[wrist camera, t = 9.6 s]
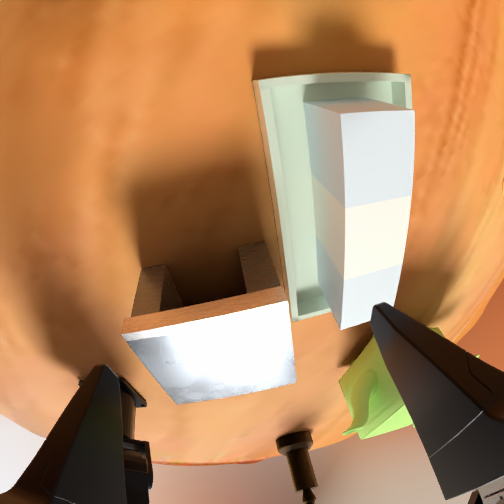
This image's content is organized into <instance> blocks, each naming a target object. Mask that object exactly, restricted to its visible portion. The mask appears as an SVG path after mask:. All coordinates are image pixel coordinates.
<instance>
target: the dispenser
mask: <svg viewBox="0 0 504 504" xmlns="http://www.w3.org/2000/svg"><path fill="white" fill-rule="evenodd" d="M238 251H239V256H240V261H241V266H242V271H243V276H244V281H245V285H246V290H247V294H243V295H239V296H234V297H230V298H225V299H221V300H216V301H211V302H207V303H202V304H197V305H192V306H187V307H184V305H183V303H182V300H181V298H180V296H179V294H178V291H177V289H176V287H175V285H174V282H173V280H172V278H171V275H170V273H169V271H168V268H167V266H166V264H162V265H158V266H154V267H149V268H145V269H141V273H140V277H139V282H138V286H137V290H136V295H135V299H134V304H133V309H132V313H131V317H130V318H125V319H124V324H123V329H122V334H121V335H122V336H123V337H124V339H125V340H126V342H127V343H128V344H129V346H130V347H131V348H132V350H133V351H134V352H135V354H136V355H137V356H138V358H139V359H140V360H141V362H142V363H143V364H144V366H145V367H146V368H147V369H148V371H149V372H150V373H151V374H152V376H153V377H154V378H155V379H156V381H157V382H158V383H159V384H160V385H161V387H162V388H163V389H164V390H165V391H166V392H167V394H168V395H169V396H170V397H171V398H172V399H173V401H174V402H175V403H176V404H184V403H192V402H199V401H206V400H213V399H219V398H225V397H231V396H237V395H242V394H247V393H252V392H257V391H262V390H266V389H271V388H275V387H280V386H284V385H288V384H292V383H296V372H295V362H294V353H293V344H292V335H291V326H290V317H289V309H288V301H287V298H286V295H285V292H284V289H283V287H282V286H280V283H279V280H278V277H277V274H276V271H275V269H274V266H273V263H272V260H271V257H270V254H269V251H268V249H267V246H266V243H265V241H263V242H258V243H254V244H250V245H245V246H241V247H238Z"/></svg>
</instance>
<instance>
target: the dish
mask: <svg viewBox="0 0 504 504" xmlns="http://www.w3.org/2000/svg"><path fill="white" fill-rule="evenodd" d="M252 83H253V89H254V94H255V100H256V105H257V111H258V117H259V123H260V128H261V134H262V140H263V146H264V153H265V159H266V165H267V171H268V177H269V184H270V190H271V197H272V204H273V210H274V217H275V224H276V231H277V238H278V245H279V252H280V259H281V267H282V274H283V282H284V289H285V295H286V298H287V301H288V309H289V314H290V316H291V319H292V322H294V321H298V320H302V319H306V318H310V317H314V316H317V315H321V314H325V313H328V312H332V311H331V309H330V307H329V305H328V303H327V301H326V299H325V297H324V295H323V293H322V290H321V288H320V286H319V284H318V275H317V251H316V232H315V216H314V202H313V190H312V178H311V167H310V157H309V148H308V139H307V130H306V122H305V114H304V106H303V102H308V101H318V100H329V99H342V98H361V97H365V98H369V99H374V100H378V101H382V102H386V103H390V104H394V105H397V106H401V107H405V108H408V109H411V110H412V92H411V76H410V74H401V73H391V72H328V73H311V74H299V75H289V76H280V77H272V78H264V79H257V80H252Z"/></svg>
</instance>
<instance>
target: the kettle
mask: <svg viewBox="0 0 504 504" xmlns="http://www.w3.org/2000/svg"><path fill="white" fill-rule="evenodd" d="M430 329H431V330H433V331H435V332H436V333H438V334H440V335H441V336H443V337H444V335H443V334H442V332H441V331H440V329H439V328H438V327H437V328H430ZM444 338H445V337H444ZM479 356H480V355H476V356H475V357H477V358H478V357H479ZM339 384H340V386H341V389H342V392H343V394H344V397H345V399H346V402H347V405H348V407H349V410H350V413H351V415H352V418H353V422H352V424H351V426H350V427H349V428H348V429H347V430H346V431H345V432H344V433H343V434H342V435H347V434H351V433H354V432H357V431H358V434H359V437H360V439H365V438H369V437H373V436H376V435H380V434H383V433H387V432H389V431H393V430H396V429H399V428H402V427H405V426H408V425H411V424H413V427H414V428H415V425H414V423H413V421H412V419H411V417H410V415H409V413H408V410H407V408H406V406H405V404H404V402H403V400H402V398H401V396H400V394H399V392H398V390H397V388H396V386H395V384H394V382H393V380H392V378H391V376H390V374H389V372H388V370H387V367H386V365H385V363H384V360H383V358H382V355H381V353H380V350H379V347H378V345H377V342H376V339H375V337H374V334H373V335H372V339H371V340H370V341H369V343H368V344H367V346H366V347H365V348H364V350H363V351H362V352H361V354H360V355H359V356H358V358H357V359H355V360H354V361H353V362H352V363H351V364H350V368H349V369H348V370H347V372H346V373H345V374H344V375H343V377H342V378H341V379H340V380H339Z"/></svg>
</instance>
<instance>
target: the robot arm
mask: <svg viewBox="0 0 504 504" xmlns="http://www.w3.org/2000/svg"><path fill="white" fill-rule="evenodd" d="M370 326H371V329H372V332H373V334H374V337H375V339H376V342H377V345H378V347H379V350H380V353H381V355H382V358H383V360H384V363H385V365H386V367H387V370H388V372H389V374H390V376H391V378H392V380H393V382H394V384H395V386H396V388H397V390H398V392H399V394H400V396H401V398H402V400H403V402H404V404H405V406H406V408H407V410H408V413H409V415H410V417H411V419H412V421H413V423H414V425H415V428H416V430H417V432H418V434H419V437H420V439H421V441H422V443H423V446H424V448H425V450H426V453H427V455H428V457H429V460H430V462H431V465H432V467H433V470H434V472H435V475H436V477H437V479H438V482H439V485H440V487H441V490H442V492H443V495H444V498H445V500H448V499H451V498H454V497H456V496H459V495H461V494H464V493H467V492H469V491H472V490H474V489H476V488H478V489H476V490H475V491H474V492H472V494H471V497H470V499H469V502H468V504H504V372H503V371H501V370H499V369H497V368H495V367H493V366H491V365H489V364H487V363H485V362H484V361H482V360H480V359H479V358H477V357H475V356H474V355H472V354H470V353H469V352H466V351H465V350H464V349H462V348H460V347H459V346H457V345H456V344H454V343H453V342H451V341H449V340H448V339H446V338H444V337H443V336H441V335H440V334H438V333H436V332H435V331H433V330H431V329H430V328H428V327H426V326H425V325H423V324H421V323H420V322H418V321H416V320H415V319H413V318H411V317H410V316H408V315H406V314H405V313H403V312H401V311H400V310H398V309H396V308H395V307H393V306H391V305H390V304H388V303H386V302H382V303H379V304H375V305H374V306H373V308H372V314H371V319H370ZM78 385H79V386H80V387H79V389H78V390H77V392H76V393H75V395H74V396H73V398H72V399H71V401H70V402H69V404H68V405H67V407H66V408H65V410H64V411H63V413H62V414H61V416H60V417H59V419H58V421H57V422H56V424H55V425H54V427H53V428H52V430H51V432H50V433H49V435H48V436H47V438H46V440H45V441H44V443H43V445H42V446H41V448H40V449H39V451H38V452H37V454H36V456H35V457H34V458H33V460H32V461H31V463H30V464H29V466H28V467H27V468H26V470H25V471H24V473H23V474H22V475H21V477H20V478H19V479H18V481H17V482H16V484H15V485H14V486H13V487H12V488H11V489H10V490H8V491H7V492H5V493H2V494H0V504H149V494H148V492H149V491H150V490H151V488H152V483H153V469H152V462H151V455H150V447H149V442H147V441H139V440H135V439H134V428H135V411H136V408H138V407H146V406H147V403H146V402H145V401H144V400H143V399H142V398H141V397H140V396H139V394H138V393H137V392H136V391H135V390H134V389H133V388H132V387H131V386H130V385H129V384H128V383H127V382H126V381H125V380H124V379H122V378H118V377H117V376H116V375H115V373H114V372H113V371H112V370H111V369H110V367H109V366H108V365H106V364H98V365H95V366H94V367H93V369H92V370H91V372H90V373H89V374H88V376H87V377H86V379H85V380H82V381H79V384H78Z"/></svg>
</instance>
